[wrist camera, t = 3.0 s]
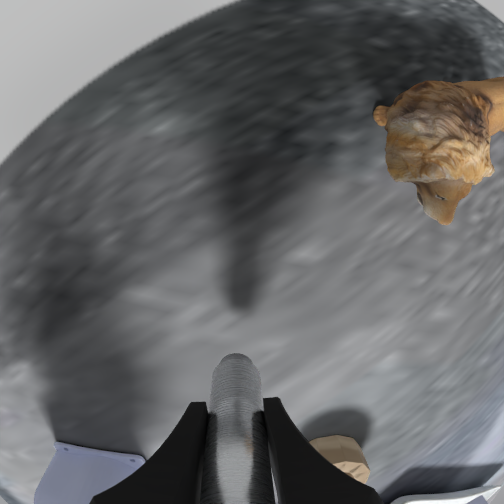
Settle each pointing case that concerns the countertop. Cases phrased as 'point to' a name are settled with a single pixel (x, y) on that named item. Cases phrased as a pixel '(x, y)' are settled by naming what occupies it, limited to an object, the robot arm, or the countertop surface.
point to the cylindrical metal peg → (236, 437)
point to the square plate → (449, 496)
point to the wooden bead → (343, 455)
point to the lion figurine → (442, 139)
